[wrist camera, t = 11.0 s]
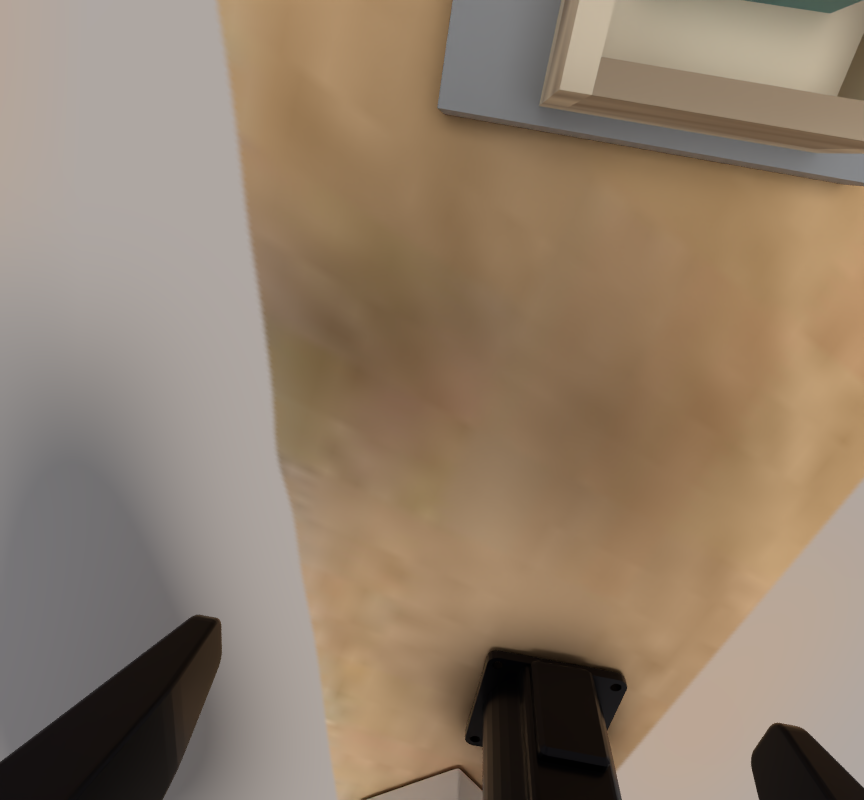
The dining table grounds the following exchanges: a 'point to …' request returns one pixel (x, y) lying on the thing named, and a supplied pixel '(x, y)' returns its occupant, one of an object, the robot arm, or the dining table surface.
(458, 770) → the milk carton
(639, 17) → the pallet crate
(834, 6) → the cargo block
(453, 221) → the dining table surface
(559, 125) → the block
